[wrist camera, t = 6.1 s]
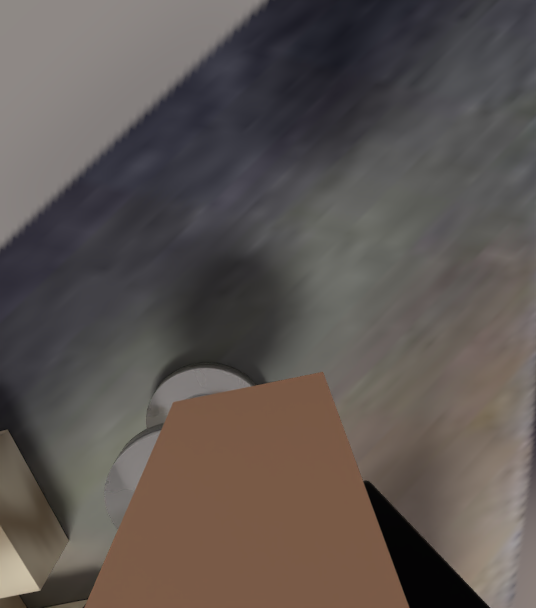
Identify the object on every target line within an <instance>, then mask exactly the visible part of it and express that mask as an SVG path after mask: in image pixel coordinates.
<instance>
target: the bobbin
mask: <svg viewBox="0 0 536 608" xmlns="http://www.w3.org/2000/svg"><path fill="white" fill-rule="evenodd" d="M251 386H256V384H255V383H254V382H253V381H252V380H251V379H250V378H249V377H248V376H246V375H245V374H243V373H242V372H240V371H238V370H236V369H234V368H232V367H229V366H226V365H222V364H217V363H198V364H192V365H188V366H185V367H183V368H180V369H178V370H176V371H175V372H173V373H171V374H170V375H169V376H168V377H166V378H165V379H164V380H163V381H162V382H161V384H160V385H159V386H158V388H157V389H156V391H155V393H154V395H153V396H152V398H151V400H150V402H149V405H148V408H147V414H146V425H147V429H145V430H144V431H142V432H140V433H139V434H137V435H136V436H135V437H134V438H132V439H131V440H130V441H129V442H128V443H127V444H126V445H125V446H124V448H123V449H122V451H121V452H120V454H119V455H118V457H117V459H116V461H115V462H114V464H113V466H112V468H111V470H110V472H109V474H108V476H107V480H106V483H105V491H104V495H105V504H106V508H107V511H108V514H109V516H110V518H111V520H112V522H113V524H114V525H115V527H116V528H117V529H119V526H120V524H121V522H122V519H123V517H124V515H125V512H126V510H127V508H128V506H129V503H130V501H131V499H132V496H133V494H134V492H135V489H136V487H137V485H138V482H139V480H140V478H141V476H142V473H143V471H144V469H145V466H146V464H147V462H148V459H149V457H150V455H151V452H152V450H153V448H154V446H155V443H156V441H157V439H158V436H159V434H160V432H161V429H162V427H163V425H164V422H165V420H166V418H167V416H168V413H169V411H170V409H171V406H172V404H173V402H176V401H181V400H186V399H191V398H196V397H201V396H206V395H211V394H216V393H221V392H226V391H231V390H236V389H241V388H246V387H251Z"/></svg>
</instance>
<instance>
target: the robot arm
mask: <svg viewBox="0 0 536 608" xmlns="http://www.w3.org/2000/svg"><path fill="white" fill-rule="evenodd" d="M363 483H364V485H365V488H366V491H367V494H368V496H369V499H370V502H371V504H372V507H373V510H374V513H375V515H376V518H377V521H378V524H379V526H380V529H381V532H382V534H383V537H384V540H385V543H386V545H387V548H388V551H389V554H390V556H391V559H392V562H393V565H394V567H395V570H396V573H397V575H398V578H399V581H400V584H401V586H402V589H403V592H404V595H405V597H406V600H407V603H408V605H409V608H490V607H489V606H488V605H487V604H486V603H485V602H484V601H483V600H482V599H481V598H480V597H479V596H478V595H477V594H476V593H475V591H474V590H473V589H472V588H471V587H470V586H469V585H468V584H467V583H466V582H465V581H464V580H463V579H462V578H461V577H460V576H459V575H458V574H457V573H456V572H455V570H454V569H453V568H452V567H451V566H450V565H449V564H448V563H447V562H446V561H445V560H444V559H443V558H442V557H441V556H440V555H439V554H438V553H437V552H436V551H435V550H434V548H433V547H432V546H431V545H430V544H429V543H428V542H427V541H426V540H425V539H424V538H423V537H422V536H421V535H420V534H419V533H418V532H417V531H416V530H415V529H414V528H413V526H412V525H411V524H410V523H409V522H408V521H407V520H406V519H405V518H404V517H403V516H402V515H401V514H400V513H399V512H398V511H397V510H396V509H395V508H394V507H393V505H392V504H391V503H390V502H389V501H388V500H387V499H386V498H385V497H384V496H383V495H382V494H381V493H380V492H379V491H378V490H377V489H376V488H375V487H374V486H373V485H372V484H371V483H370V482H369V481H363ZM85 605H86V604H85ZM85 605H84V606H83V608H84V607H85Z"/></svg>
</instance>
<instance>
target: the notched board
mask: <svg viewBox="0 0 536 608" xmlns="http://www.w3.org/2000/svg"><path fill="white" fill-rule="evenodd" d="M68 542H69V540H68V538H67V537H66V535H65V533H64V531H63V529H62V528H61V526H60V524H59V522H58V520H57V518H56V517H55V515H54V513H53V511H52V509H51V507H50V506H49V504H48V502H47V500H46V498H45V497H44V495H43V493H42V491H41V489H40V487H39V486H38V484H37V482H36V480H35V478H34V477H33V475H32V473H31V471H30V469H29V467H28V466H27V464H26V462H25V460H24V458H23V456H22V455H21V453H20V451H19V449H18V447H17V446H16V444H15V442H14V440H13V438H12V436H11V435H10V433H9V431H8V430H3V431H0V608H27V607H26V606H25V604H24V603H23V601H22V599H21V598H20V596H19V595H20V594H25V593H30V592H35V591H40V590H41V589H42V587H43V585H44V583H45V582H46V580H47V578H48V576H49V575H50V573H51V571H52V570H53V568H54V566H55V564H56V563H57V561H58V559H59V557H60V556H61V554H62V552H63V550H64V549H65V547H66V545H67V543H68ZM87 600H88V599H87ZM87 600H82V601H77V602H72V603H66V604H61V605H56V606H51V607H46V608H83V606H84V605H85V604H86V602H87Z"/></svg>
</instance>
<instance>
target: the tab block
mask: <svg viewBox="0 0 536 608" xmlns="http://www.w3.org/2000/svg"><path fill="white" fill-rule="evenodd" d="M84 608H409V605H408V603H407V600H406V597H405V595H404V592H403V589H402V586H401V584H400V581H399V578H398V575H397V573H396V570H395V567H394V565H393V562H392V559H391V556H390V554H389V551H388V548H387V545H386V543H385V540H384V537H383V534H382V532H381V529H380V526H379V524H378V521H377V518H376V515H375V513H374V510H373V507H372V504H371V502H370V499H369V496H368V494H367V491H366V488H365V485H364V483H363V480H362V477H361V474H360V472H359V469H358V466H357V464H356V461H355V458H354V455H353V453H352V450H351V447H350V444H349V442H348V439H347V436H346V434H345V431H344V428H343V425H342V423H341V420H340V417H339V414H338V412H337V409H336V406H335V403H334V401H333V398H332V395H331V393H330V390H329V387H328V384H327V382H326V379H325V376H324V373H323V372H320V373H315V374H310V375H305V376H300V377H296V378H291V379H286V380H281V381H276V382H271V383H266V384H261V385H256V386H251V387H246V388H241V389H236V390H231V391H226V392H221V393H216V394H211V395H206V396H201V397H196V398H191V399H186V400H181V401H176V402H173V404H172V406H171V409H170V411H169V413H168V416H167V418H166V420H165V422H164V425H163V427H162V429H161V432H160V434H159V436H158V439H157V441H156V443H155V446H154V448H153V450H152V452H151V455H150V457H149V459H148V462H147V464H146V466H145V469H144V471H143V473H142V476H141V478H140V480H139V482H138V485H137V487H136V489H135V492H134V494H133V496H132V499H131V501H130V503H129V506H128V508H127V510H126V512H125V515H124V517H123V519H122V522H121V524H120V526H119V529H118V531H117V533H116V536H115V538H114V540H113V542H112V545H111V547H110V549H109V552H108V554H107V556H106V559H105V561H104V563H103V566H102V568H101V570H100V572H99V575H98V577H97V579H96V582H95V584H94V586H93V589H92V591H91V593H90V596H89V598H88V600H87V602H86V605H85V607H84Z"/></svg>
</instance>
